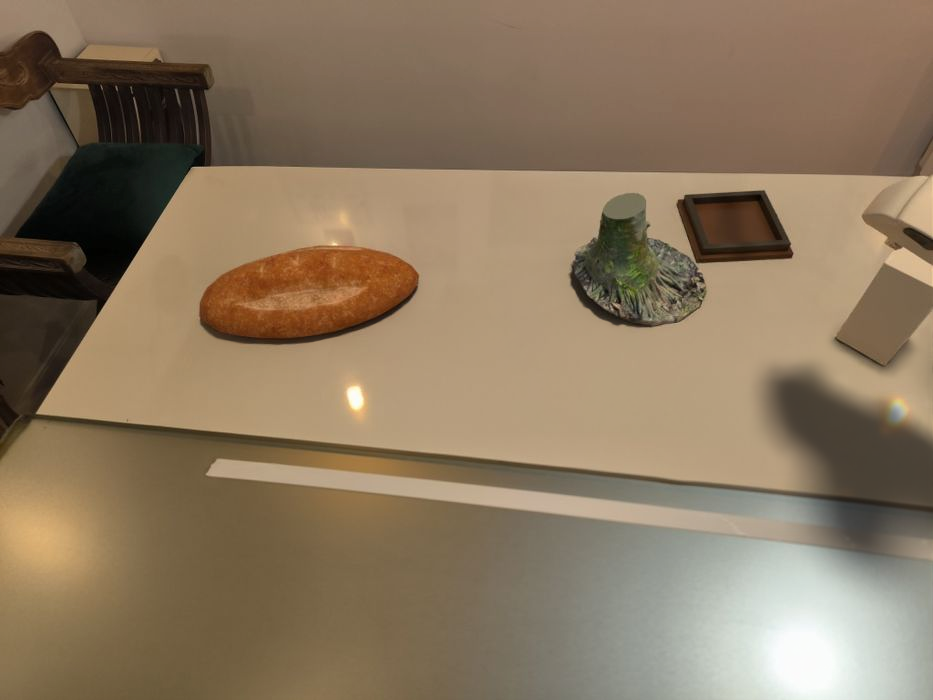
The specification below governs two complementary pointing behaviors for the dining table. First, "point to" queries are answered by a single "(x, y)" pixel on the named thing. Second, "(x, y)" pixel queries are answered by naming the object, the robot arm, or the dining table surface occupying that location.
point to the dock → (733, 227)
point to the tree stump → (637, 268)
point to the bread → (306, 292)
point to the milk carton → (890, 307)
